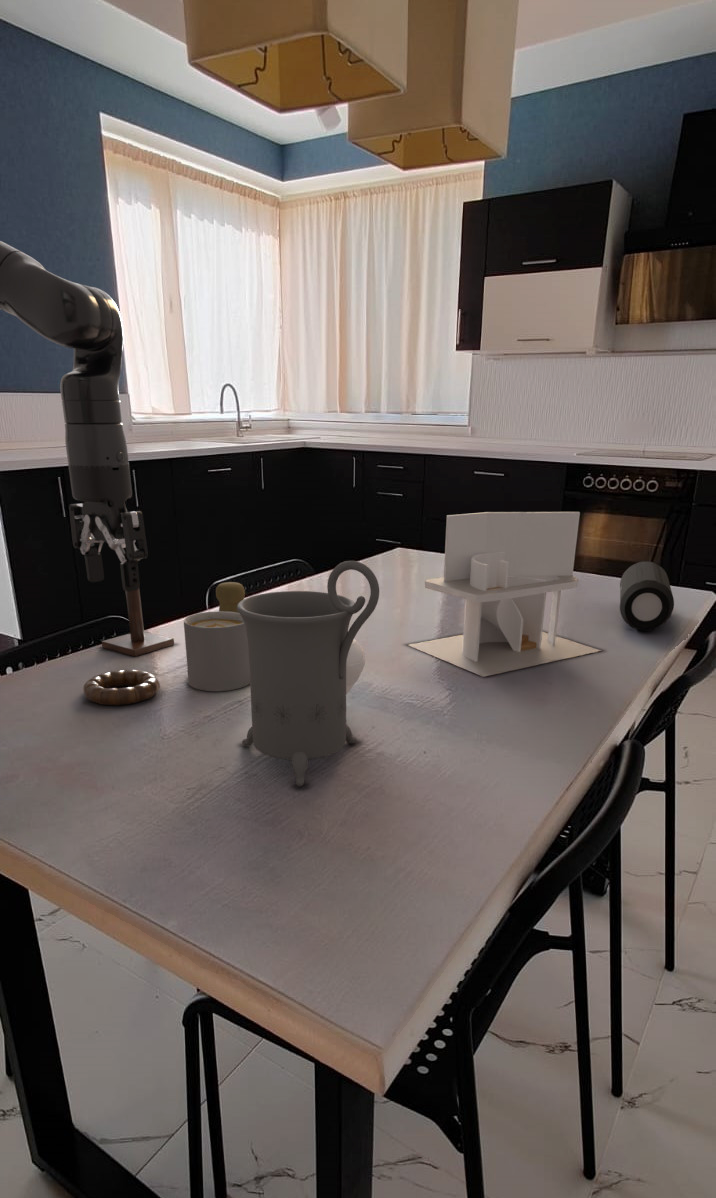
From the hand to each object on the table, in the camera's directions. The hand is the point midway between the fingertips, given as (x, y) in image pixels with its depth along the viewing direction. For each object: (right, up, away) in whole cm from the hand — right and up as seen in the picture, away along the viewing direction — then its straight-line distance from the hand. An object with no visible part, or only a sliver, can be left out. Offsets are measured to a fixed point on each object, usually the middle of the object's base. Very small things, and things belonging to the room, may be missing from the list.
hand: (113, 585), depth 106 cm
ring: (-2, -13, +10) cm, 17 cm away
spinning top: (+31, -17, +7) cm, 36 cm away
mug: (+27, -24, -10) cm, 37 cm away
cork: (+11, -4, +36) cm, 38 cm away
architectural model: (+60, -5, +34) cm, 69 cm away
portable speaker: (+93, +4, +55) cm, 108 cm away
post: (-6, -4, +33) cm, 34 cm away
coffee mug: (+13, -12, +18) cm, 25 cm away
